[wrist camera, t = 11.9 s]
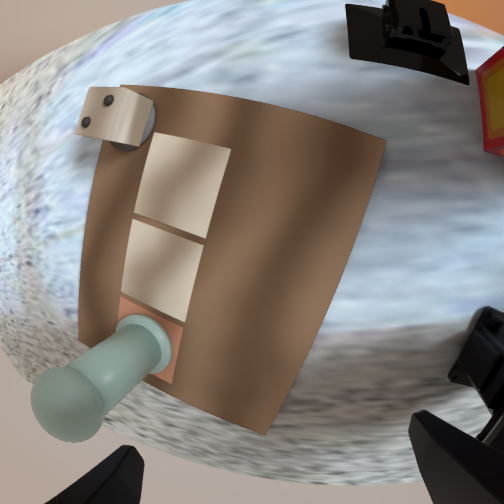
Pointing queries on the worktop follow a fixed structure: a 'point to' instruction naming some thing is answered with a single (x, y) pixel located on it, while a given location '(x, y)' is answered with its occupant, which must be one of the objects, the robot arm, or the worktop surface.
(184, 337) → the game board
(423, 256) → the worktop surface
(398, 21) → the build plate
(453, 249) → the worktop surface
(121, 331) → the pawn
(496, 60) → the baking soda box
